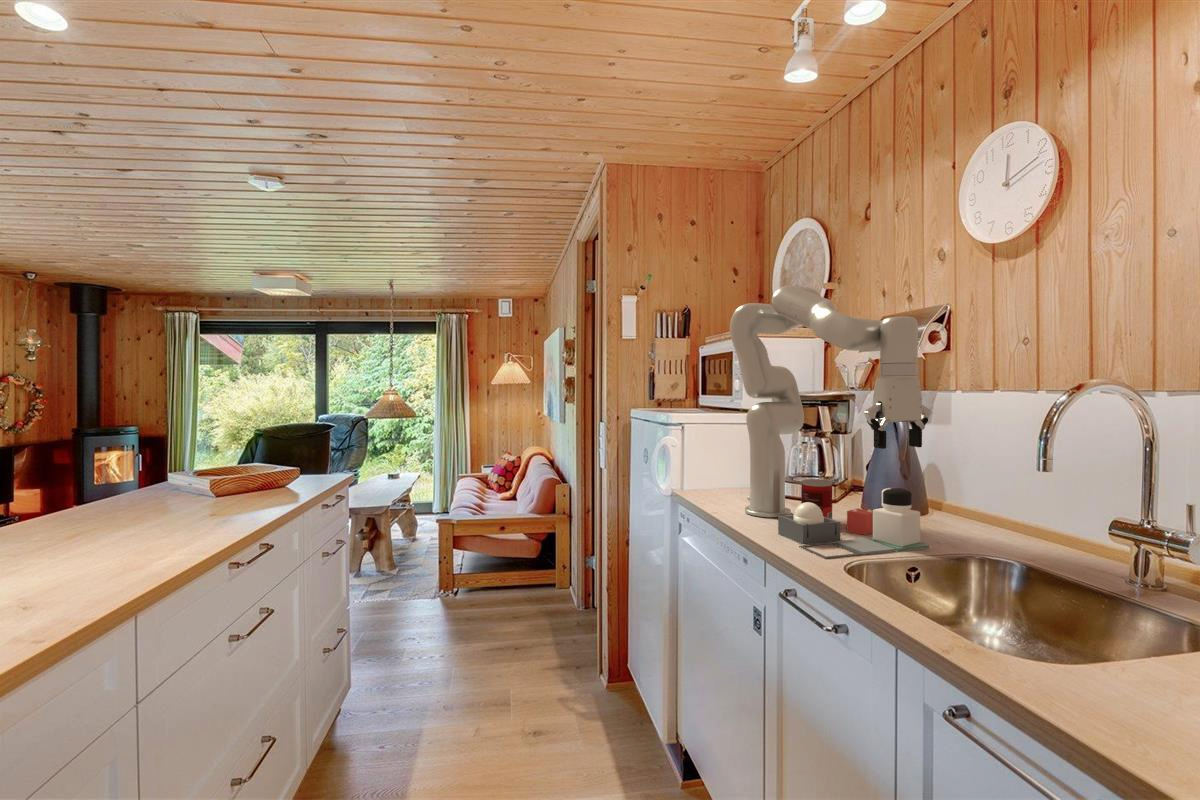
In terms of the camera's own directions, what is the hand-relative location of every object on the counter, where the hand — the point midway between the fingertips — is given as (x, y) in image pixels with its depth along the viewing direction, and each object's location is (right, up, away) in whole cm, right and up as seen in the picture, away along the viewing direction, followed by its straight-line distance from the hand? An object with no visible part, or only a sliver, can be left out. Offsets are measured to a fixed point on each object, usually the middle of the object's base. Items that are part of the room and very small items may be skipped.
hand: (897, 447), depth 130 cm
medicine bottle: (0, -22, +1) cm, 22 cm away
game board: (-9, -22, -2) cm, 24 cm away
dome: (-18, -20, +7) cm, 28 cm away
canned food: (-10, -22, +21) cm, 32 cm away
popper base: (-18, -22, +7) cm, 29 cm away
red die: (-3, -22, +12) cm, 25 cm away
